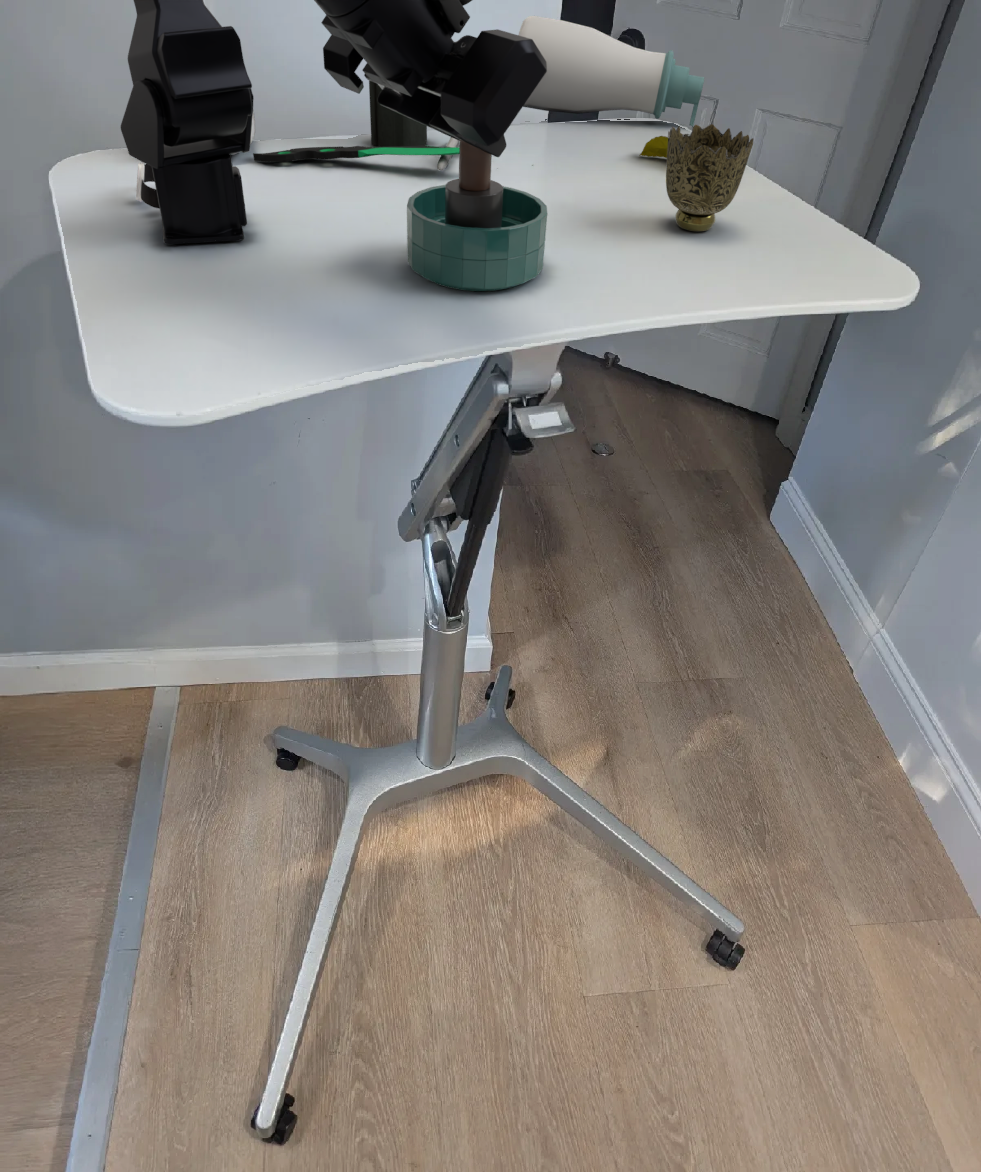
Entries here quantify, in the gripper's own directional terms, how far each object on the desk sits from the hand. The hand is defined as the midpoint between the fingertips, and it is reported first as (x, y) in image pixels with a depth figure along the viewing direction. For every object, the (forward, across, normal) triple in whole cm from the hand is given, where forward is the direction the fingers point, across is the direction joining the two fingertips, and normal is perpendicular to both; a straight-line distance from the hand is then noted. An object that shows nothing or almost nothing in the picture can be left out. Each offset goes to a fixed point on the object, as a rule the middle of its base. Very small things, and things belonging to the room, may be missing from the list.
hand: (490, 146), depth 67 cm
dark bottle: (+17, +34, -4) cm, 38 cm away
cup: (+24, -2, -10) cm, 26 cm away
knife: (+9, +27, +2) cm, 28 cm away
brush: (+4, 0, +6) cm, 7 cm away
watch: (-4, +29, +18) cm, 34 cm away
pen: (+18, +26, -4) cm, 32 cm away
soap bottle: (+29, +40, -23) cm, 55 cm away
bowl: (+7, +1, +7) cm, 10 cm away
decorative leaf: (+33, +12, -19) cm, 40 cm away
